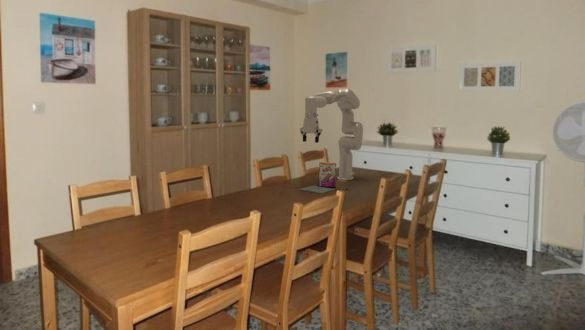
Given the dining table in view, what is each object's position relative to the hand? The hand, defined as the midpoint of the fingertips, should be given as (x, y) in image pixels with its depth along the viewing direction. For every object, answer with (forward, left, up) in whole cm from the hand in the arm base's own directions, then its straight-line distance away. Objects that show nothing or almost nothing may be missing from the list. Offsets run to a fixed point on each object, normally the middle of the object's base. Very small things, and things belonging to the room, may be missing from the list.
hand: (310, 142), depth 289 cm
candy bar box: (-11, +6, -31) cm, 33 cm away
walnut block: (-12, +17, -31) cm, 38 cm away
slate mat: (+1, +6, -31) cm, 32 cm away
